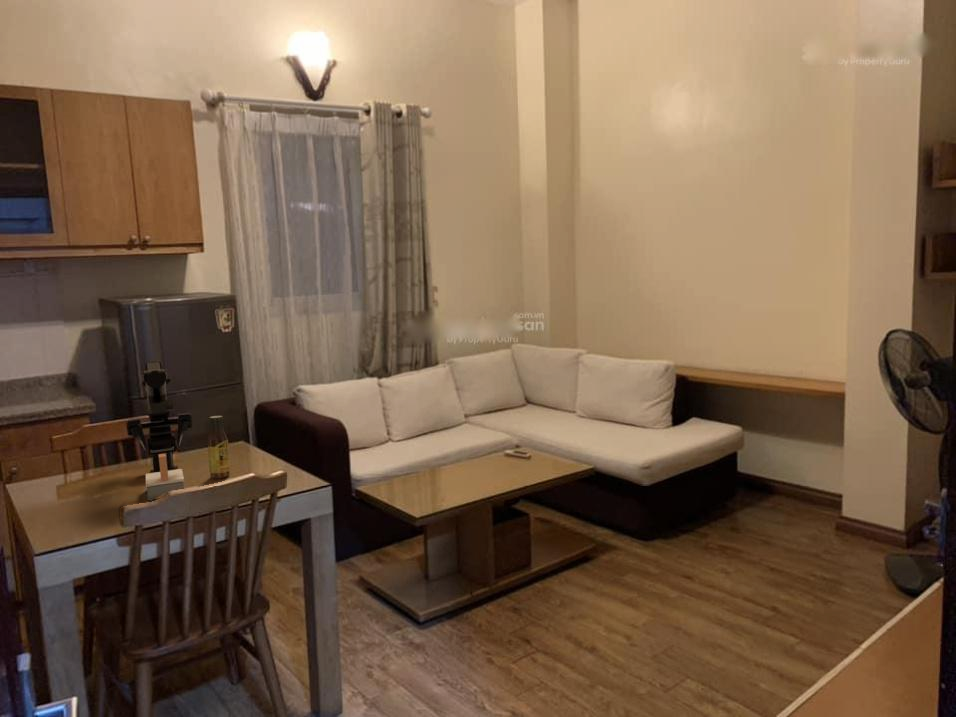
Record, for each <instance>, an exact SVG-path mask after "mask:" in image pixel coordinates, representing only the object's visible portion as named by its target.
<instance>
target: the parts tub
mask: <svg viewBox="0 0 956 717" xmlns="http://www.w3.org/2000/svg"><path fill="white" fill-rule="evenodd" d="M178 489H184V490H185V485H184V481H182V482H176V483H169V484H162V485H156V486H149V487H146V490H147V491H146V494H147V501H148V500H150V501H153V500H152V499H156V498H157V497H159V496H161V495H162V494H164V493H167V492H169V491H172V490H178ZM156 500H157V499H156Z"/></svg>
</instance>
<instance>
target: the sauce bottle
mask: <svg viewBox="0 0 956 717" xmlns="http://www.w3.org/2000/svg"><path fill="white" fill-rule="evenodd" d="M223 421H224V417H223V415H213V416H209V422H210V433H209V435H208V436H207V451H208V452H207V453H208V467H209V473H210V477H211V479H222V478H227V477H229V475H230V473H231V472H230V471H231V466H230V465H231V464H230V455H229V454H230V452H229V440H228V437H227V435H226V433H225V431H224V426H223V424H224V423H223Z"/></svg>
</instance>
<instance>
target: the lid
mask: <svg viewBox="0 0 956 717" xmlns="http://www.w3.org/2000/svg"><path fill="white" fill-rule="evenodd" d="M159 464H160V472H150V473H145V487H146V488H147V487H149V486H156V485H162V484H169V483H176V482H182V481H183V482H185V478H184V472H183V469H182V468H179V469H173V470H170V471H168V470H167V460H166V453H165V454H159Z"/></svg>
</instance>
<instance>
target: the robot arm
mask: <svg viewBox="0 0 956 717" xmlns="http://www.w3.org/2000/svg"><path fill="white" fill-rule="evenodd" d="M144 363H145V366H143V367H142V369H141V370H140V376H141V385H142V387H144V391H145V392H146V396H147V397H146V398H147V399H146V400H147V409H148V411H147V412H148V420H149V421H145V422H141V418H134V419H128V420H127V421H126V423H125V424H126V431H127V432H126V433H127V436H129V437H130V436H132V438H135V439H137V440H138V441H139V443H140V444H141V445H142V447H143V449H144V450H145V451H146V452H147V450H148V455H149V456H152V460H151V461H152V468H153V469H151V470H149V472H150V473H156V472H160V464H159V454H165V453H166V460H167V470H168V471H170V470H176V468H178V467H179V466H178V465H174V456H173V453H176V452H177V451H178V447H180V445H181V441H182V440H183V439H182V437H183V436H184V434H185V432H187V431H189V429H192V428H193V418H192V413H190V412H184V413H178V414H177V418H170V411H174V410H175V409H174V400H173V399H168V396H167V385H169V383H171V377H170V375H169V374H168V372H167V370H168V369H167V367H166V366H164V365H163V364H162V361H161V360H150V361H146V362H144ZM171 426H177V437H176V436H175V434H173V433H172V427H171ZM144 429H149V430H148V437H147V442H146V439H145V434H144V431H143V430H144Z"/></svg>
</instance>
